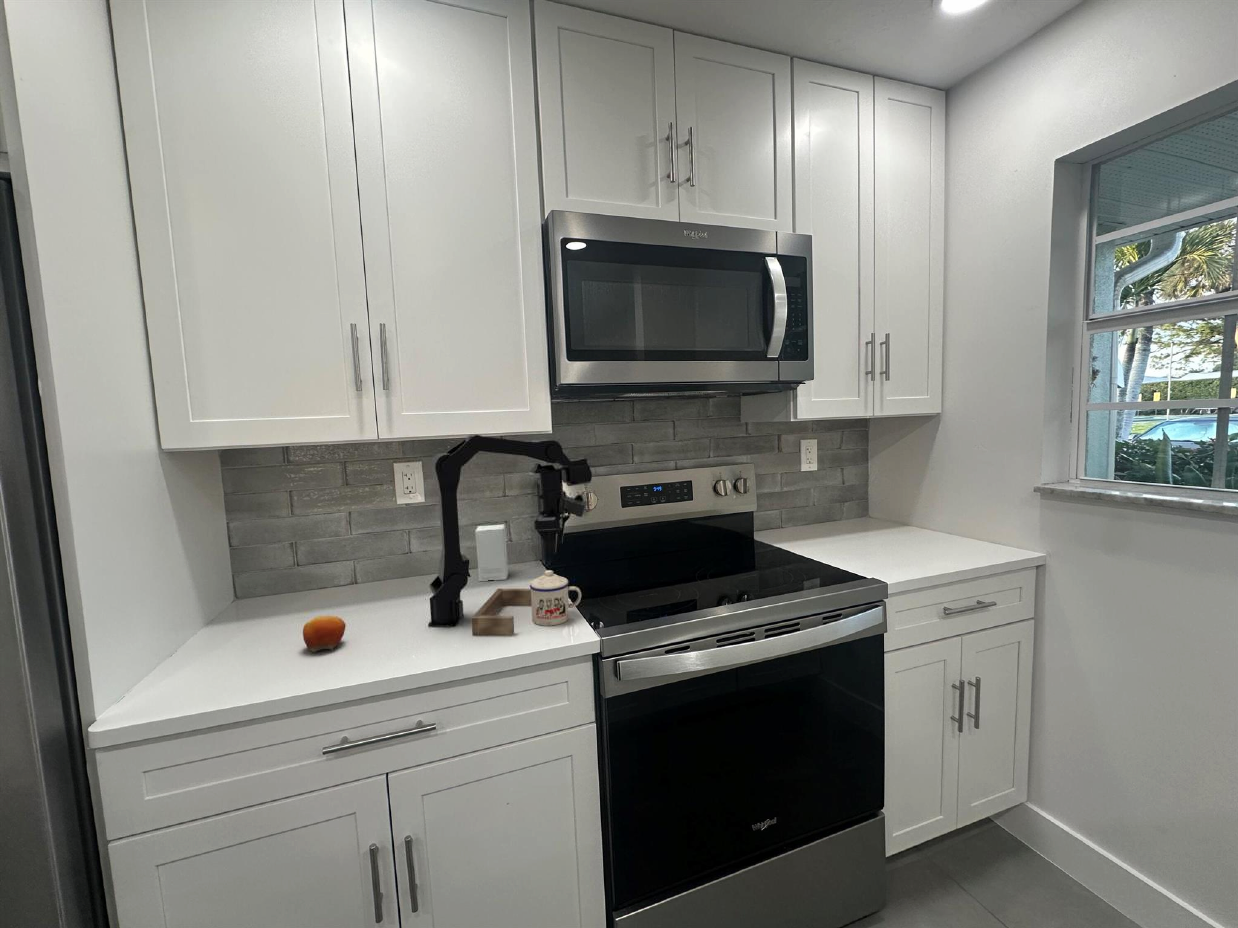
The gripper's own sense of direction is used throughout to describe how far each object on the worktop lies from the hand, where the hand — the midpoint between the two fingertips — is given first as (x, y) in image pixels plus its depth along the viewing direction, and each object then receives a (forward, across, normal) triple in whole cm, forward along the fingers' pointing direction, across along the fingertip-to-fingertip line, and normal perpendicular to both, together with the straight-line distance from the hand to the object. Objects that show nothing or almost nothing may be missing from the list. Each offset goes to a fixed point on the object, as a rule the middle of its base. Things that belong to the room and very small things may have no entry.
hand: (556, 548), depth 140 cm
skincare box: (+13, +19, +24) cm, 33 cm away
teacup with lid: (+14, -13, -1) cm, 19 cm away
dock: (+13, -13, +11) cm, 21 cm away
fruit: (+11, -29, +46) cm, 55 cm away
